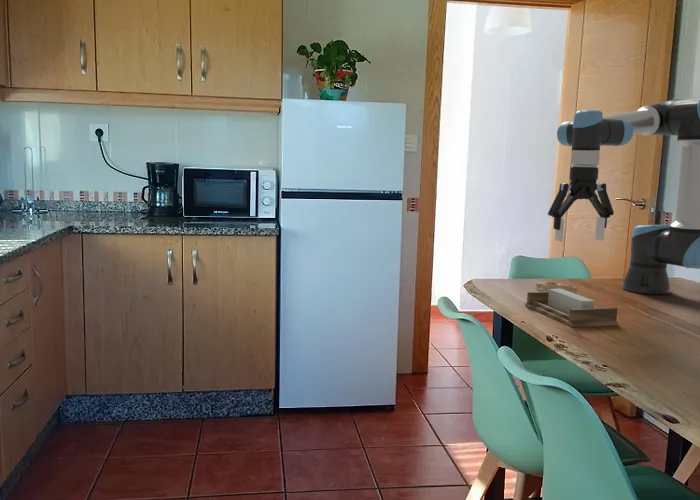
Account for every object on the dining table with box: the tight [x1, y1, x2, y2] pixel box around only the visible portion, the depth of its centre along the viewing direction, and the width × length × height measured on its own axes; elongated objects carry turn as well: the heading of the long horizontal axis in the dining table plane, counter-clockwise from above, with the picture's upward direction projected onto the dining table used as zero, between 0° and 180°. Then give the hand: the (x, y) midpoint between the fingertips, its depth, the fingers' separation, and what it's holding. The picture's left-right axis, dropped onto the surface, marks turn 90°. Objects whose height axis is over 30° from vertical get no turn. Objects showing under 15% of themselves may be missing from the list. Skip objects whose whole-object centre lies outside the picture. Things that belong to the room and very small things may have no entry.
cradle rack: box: [524, 291, 619, 328], centre depth 176 cm, size 24×14×4 cm, turn 15°
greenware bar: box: [548, 289, 596, 314], centre depth 176 cm, size 4×16×5 cm, turn 15°
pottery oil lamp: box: [535, 280, 578, 294], centre depth 199 cm, size 9×12×7 cm
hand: (579, 240), depth 178 cm, fingers open, 13 cm apart
